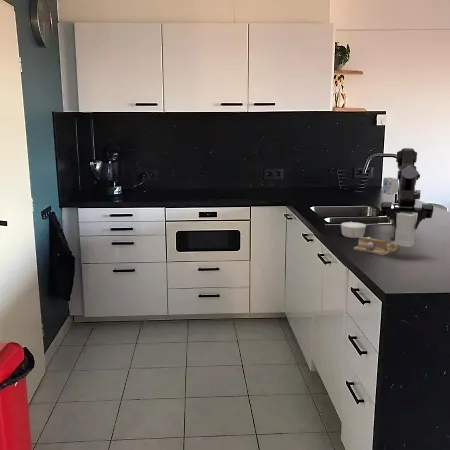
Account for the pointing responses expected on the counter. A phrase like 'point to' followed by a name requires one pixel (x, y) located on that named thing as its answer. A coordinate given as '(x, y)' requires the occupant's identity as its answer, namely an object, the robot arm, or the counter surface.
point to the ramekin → (353, 229)
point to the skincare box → (405, 229)
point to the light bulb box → (390, 185)
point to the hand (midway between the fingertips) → (405, 228)
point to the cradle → (375, 246)
